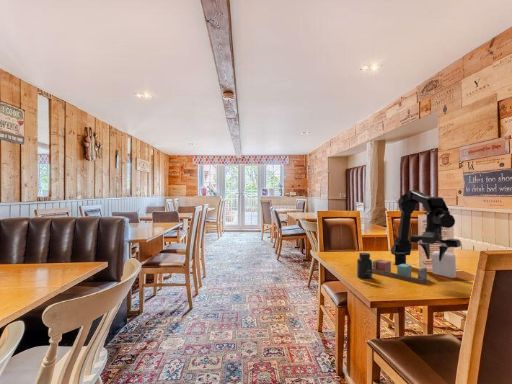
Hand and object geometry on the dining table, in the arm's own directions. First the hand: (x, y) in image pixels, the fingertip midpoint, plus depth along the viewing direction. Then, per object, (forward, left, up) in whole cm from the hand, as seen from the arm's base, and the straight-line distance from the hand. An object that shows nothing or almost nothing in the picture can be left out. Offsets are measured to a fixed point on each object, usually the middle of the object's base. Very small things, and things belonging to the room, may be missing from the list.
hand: (434, 260), depth 126 cm
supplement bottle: (+15, -25, -11) cm, 31 cm away
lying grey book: (-10, -32, -12) cm, 35 cm away
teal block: (0, -13, -10) cm, 17 cm away
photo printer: (-18, -2, -11) cm, 21 cm away
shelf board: (0, -15, -11) cm, 19 cm away
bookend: (0, -5, -10) cm, 11 cm away
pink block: (0, -23, -10) cm, 25 cm away
